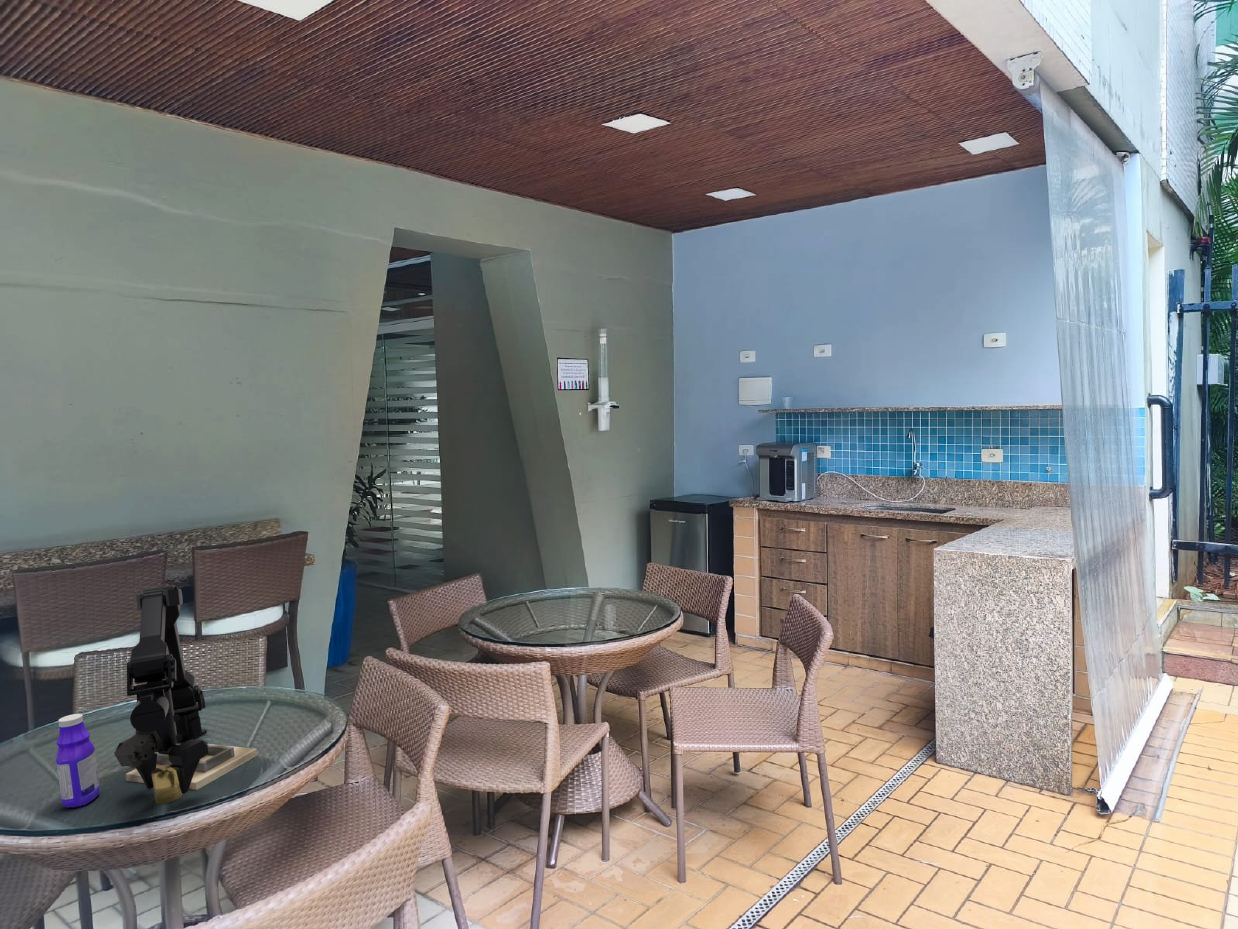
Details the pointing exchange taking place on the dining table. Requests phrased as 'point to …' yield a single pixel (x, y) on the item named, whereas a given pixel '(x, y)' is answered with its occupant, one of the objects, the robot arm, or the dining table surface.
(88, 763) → the bottle
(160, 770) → the cylinder
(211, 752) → the board
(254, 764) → the dining table surface
